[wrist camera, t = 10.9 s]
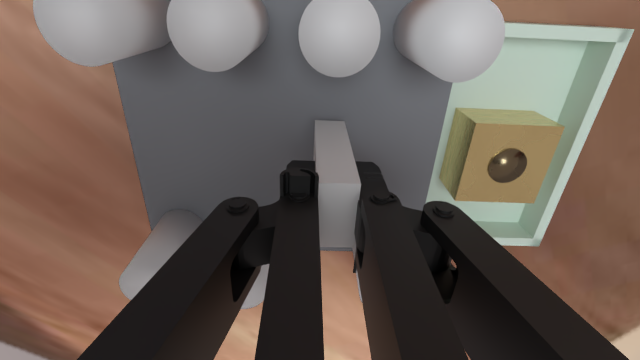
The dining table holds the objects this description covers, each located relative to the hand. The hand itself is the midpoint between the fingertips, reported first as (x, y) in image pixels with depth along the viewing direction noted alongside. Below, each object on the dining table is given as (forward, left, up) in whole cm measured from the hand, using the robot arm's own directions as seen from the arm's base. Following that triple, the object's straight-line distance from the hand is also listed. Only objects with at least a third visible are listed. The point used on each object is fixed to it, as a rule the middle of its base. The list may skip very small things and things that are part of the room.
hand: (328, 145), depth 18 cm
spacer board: (-2, 0, -3) cm, 4 cm away
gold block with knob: (+10, -1, -3) cm, 10 cm away
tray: (+10, 0, -3) cm, 11 cm away
